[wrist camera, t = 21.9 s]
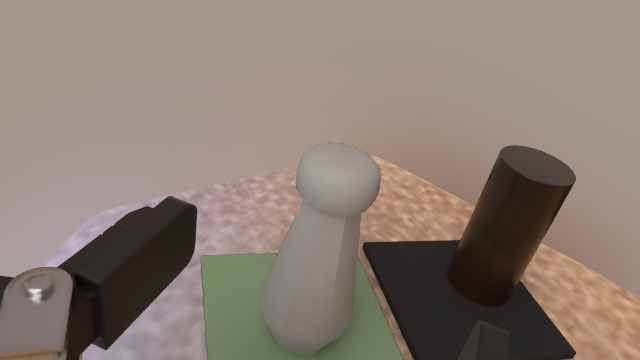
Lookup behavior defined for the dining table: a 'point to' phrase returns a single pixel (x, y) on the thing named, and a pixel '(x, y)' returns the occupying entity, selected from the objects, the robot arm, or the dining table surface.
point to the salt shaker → (320, 249)
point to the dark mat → (454, 305)
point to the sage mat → (249, 326)
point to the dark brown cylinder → (508, 224)
